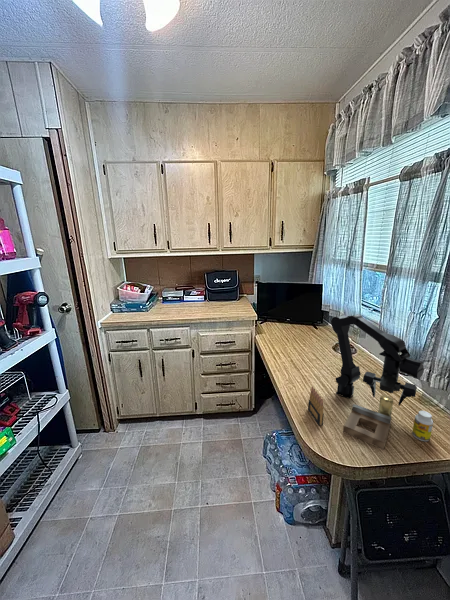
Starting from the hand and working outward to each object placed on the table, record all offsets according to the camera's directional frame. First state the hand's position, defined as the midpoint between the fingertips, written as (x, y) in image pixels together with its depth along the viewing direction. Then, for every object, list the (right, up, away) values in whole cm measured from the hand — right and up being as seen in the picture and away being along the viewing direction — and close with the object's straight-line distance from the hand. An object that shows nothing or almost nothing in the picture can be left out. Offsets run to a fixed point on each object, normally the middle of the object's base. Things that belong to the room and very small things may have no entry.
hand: (386, 401), depth 111 cm
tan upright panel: (-30, -7, +1) cm, 31 cm away
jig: (-13, -9, -8) cm, 18 cm away
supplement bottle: (+6, -10, -11) cm, 16 cm away
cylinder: (0, -7, +1) cm, 7 cm away
